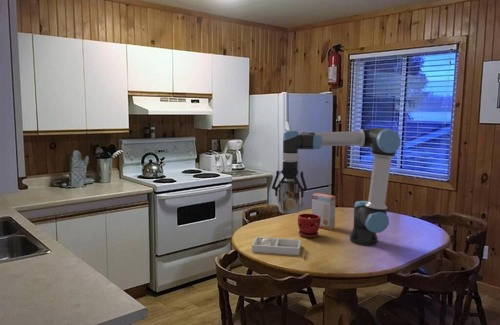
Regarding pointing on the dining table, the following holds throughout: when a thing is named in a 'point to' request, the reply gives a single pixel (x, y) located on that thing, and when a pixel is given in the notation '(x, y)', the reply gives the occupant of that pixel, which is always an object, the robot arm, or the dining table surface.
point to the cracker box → (324, 209)
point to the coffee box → (289, 197)
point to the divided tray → (277, 246)
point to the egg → (265, 242)
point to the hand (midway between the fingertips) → (289, 203)
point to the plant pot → (308, 225)
